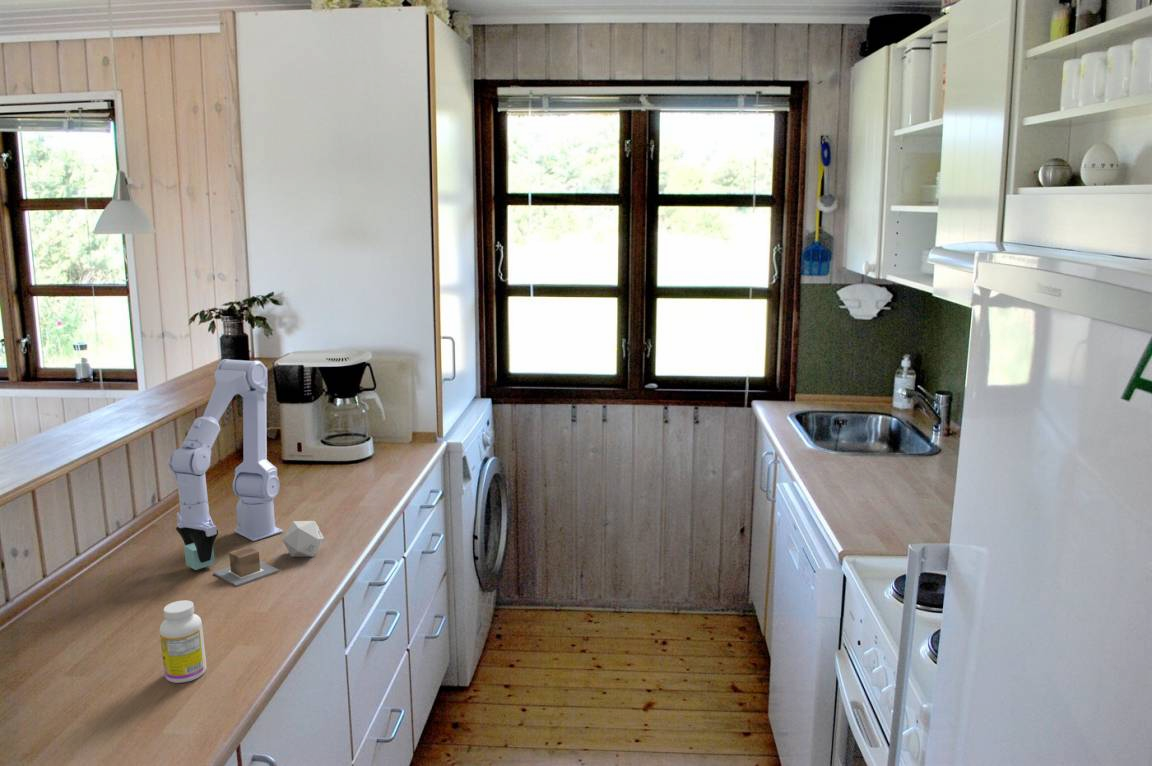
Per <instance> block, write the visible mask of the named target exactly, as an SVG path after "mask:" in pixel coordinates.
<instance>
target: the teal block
mask: <svg viewBox="0 0 1152 766" xmlns="http://www.w3.org/2000/svg"><path fill="white" fill-rule="evenodd" d="M183 549H184V558H185V566H187V567H190V568H191V569H193V570H195V571H197V570H200V569H203V568H206V567H209V566H212V565H215V564H216V558H215V550H214V549H215V548H214V547H213V548H212V554H211V560H209V561H206V562H203V563H201V562H200V560H199V557H198V553H197V549H196V546H195V544H194V543H192V544H188V545H185V544H184V546H183Z"/></svg>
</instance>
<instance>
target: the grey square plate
mask: <svg viewBox="0 0 1152 766" xmlns="http://www.w3.org/2000/svg"><path fill="white" fill-rule="evenodd" d="M259 560H260V571H258V572H255V573H252V574H249V575H246V576H243V577H240V576H238V575H236V574H234V573H233V572H231V567H230V566H228V567H224V568H223V569H222V568H221V569H219V570H215V571H213V575H215V576H217V577H219V578H220V579H222V580H223V581H225V582H227V583H229V584H231V585H232V586H235V587H240V586H242V585H245V584H249V583H251V582H254V581H257V580H259V579H262V578H265V577H267V576H270V575H273V574H275V573H279V572H280V570H279V569H278V568H276V567H274V566H272V565H270V564H269V563H266V562H264V561H262V560H261V559H259Z"/></svg>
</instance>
